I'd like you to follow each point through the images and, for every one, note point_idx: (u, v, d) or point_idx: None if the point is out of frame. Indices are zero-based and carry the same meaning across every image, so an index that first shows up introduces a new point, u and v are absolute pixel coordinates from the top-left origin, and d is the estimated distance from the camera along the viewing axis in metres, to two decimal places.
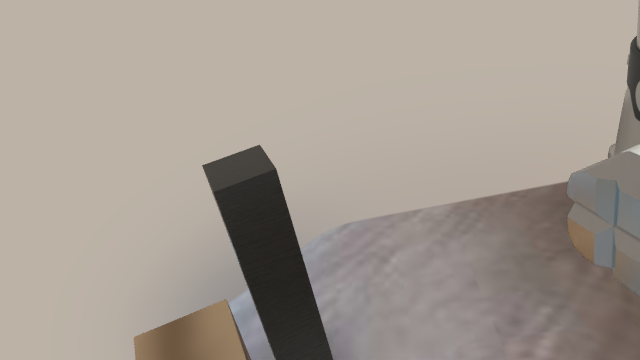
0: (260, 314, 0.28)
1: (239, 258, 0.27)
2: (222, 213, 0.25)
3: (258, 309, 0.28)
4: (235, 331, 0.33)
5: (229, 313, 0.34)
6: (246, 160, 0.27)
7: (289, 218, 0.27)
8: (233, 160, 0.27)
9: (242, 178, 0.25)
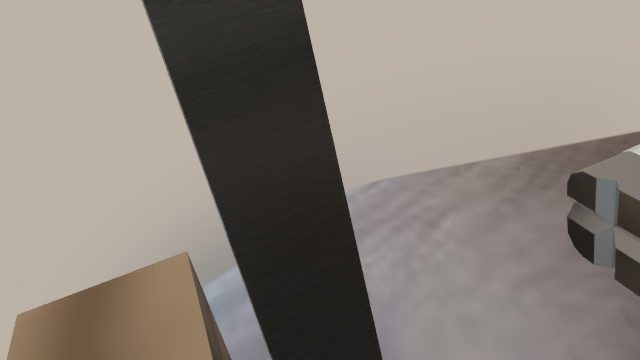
0: (237, 253, 0.13)
1: (186, 110, 0.11)
2: None
3: (232, 241, 0.13)
4: (196, 303, 0.17)
5: (189, 273, 0.19)
6: None
7: (302, 20, 0.12)
8: None
9: None
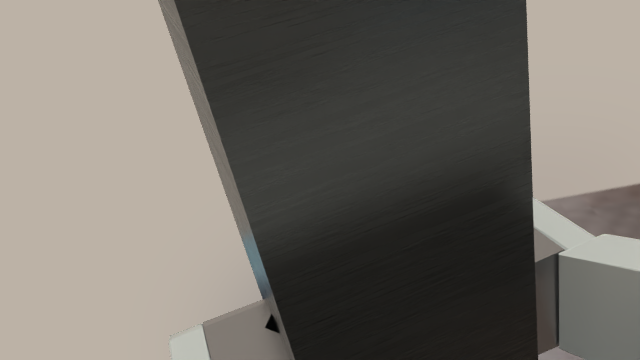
0: None
1: (289, 322, 0.06)
2: (206, 74, 0.04)
3: None
4: None
5: None
6: None
7: (524, 135, 0.06)
8: None
9: None
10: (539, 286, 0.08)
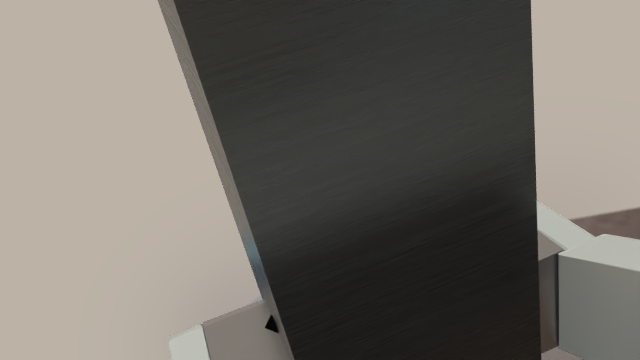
0: None
1: (289, 323, 0.06)
2: (205, 71, 0.04)
3: None
4: None
5: None
6: None
7: (528, 134, 0.06)
8: None
9: None
10: (539, 286, 0.08)
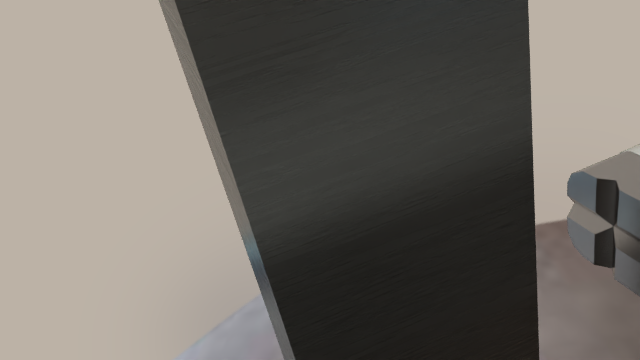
0: None
1: (289, 321, 0.06)
2: (206, 71, 0.04)
3: None
4: None
5: None
6: None
7: (526, 133, 0.06)
8: None
9: None
10: None
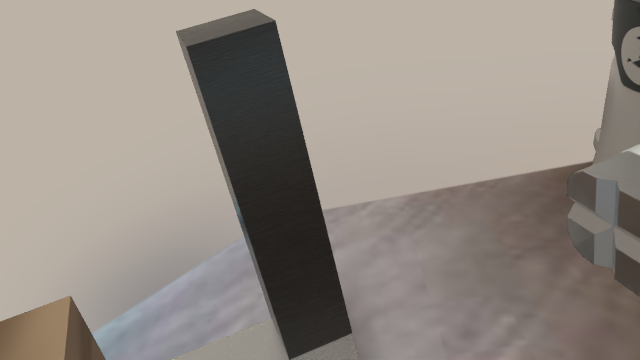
0: (251, 240, 0.21)
1: (223, 153, 0.19)
2: (199, 81, 0.18)
3: (249, 233, 0.21)
4: (64, 338, 0.24)
5: (66, 314, 0.25)
6: (235, 20, 0.19)
7: (292, 100, 0.19)
8: (218, 22, 0.20)
9: (228, 32, 0.18)
10: None
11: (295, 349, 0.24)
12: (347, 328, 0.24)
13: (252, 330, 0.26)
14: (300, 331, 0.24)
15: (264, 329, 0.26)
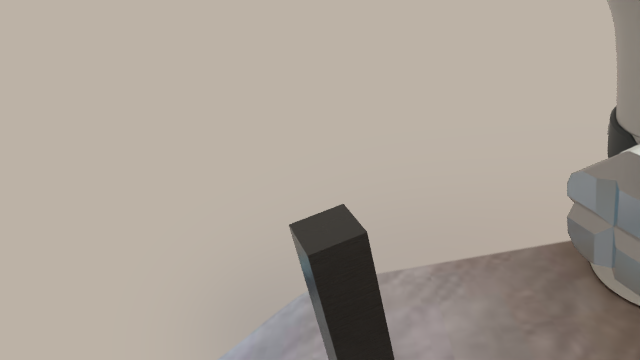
0: None
1: (326, 317, 0.27)
2: (314, 275, 0.26)
3: None
4: None
5: None
6: (334, 221, 0.27)
7: (375, 278, 0.27)
8: (320, 220, 0.28)
9: (334, 241, 0.26)
10: None
11: None
12: None
13: None
14: None
15: None
